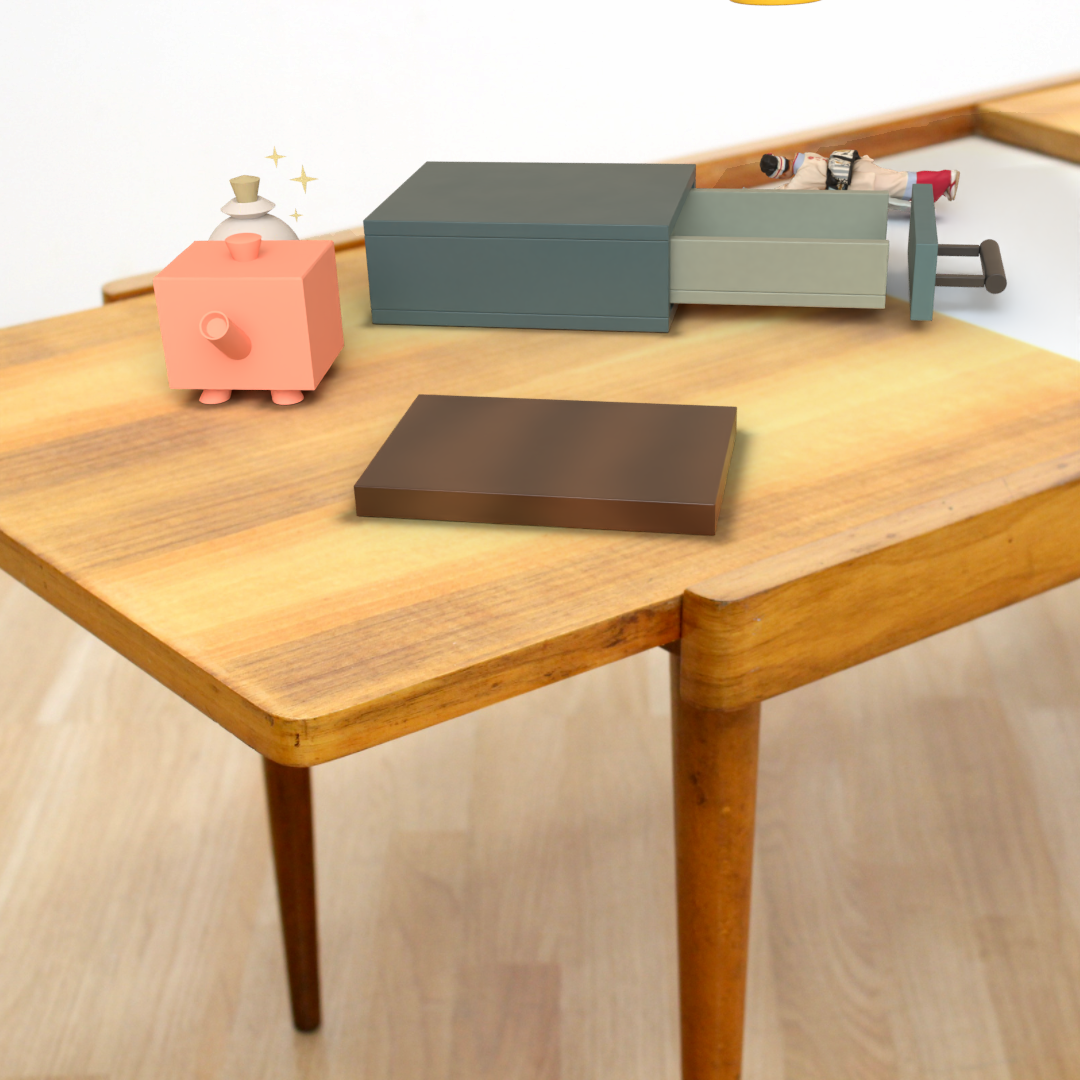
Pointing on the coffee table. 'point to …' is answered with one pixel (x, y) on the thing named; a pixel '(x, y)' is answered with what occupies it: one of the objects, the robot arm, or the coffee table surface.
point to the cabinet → (528, 245)
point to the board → (554, 464)
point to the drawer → (811, 250)
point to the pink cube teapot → (250, 316)
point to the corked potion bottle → (254, 210)
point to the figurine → (856, 176)
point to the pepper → (773, 2)
